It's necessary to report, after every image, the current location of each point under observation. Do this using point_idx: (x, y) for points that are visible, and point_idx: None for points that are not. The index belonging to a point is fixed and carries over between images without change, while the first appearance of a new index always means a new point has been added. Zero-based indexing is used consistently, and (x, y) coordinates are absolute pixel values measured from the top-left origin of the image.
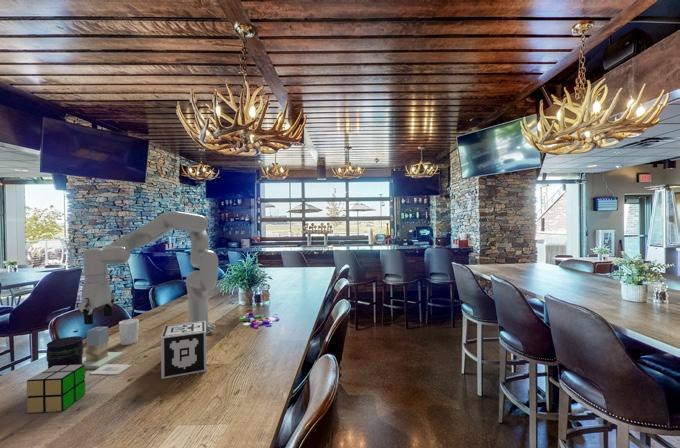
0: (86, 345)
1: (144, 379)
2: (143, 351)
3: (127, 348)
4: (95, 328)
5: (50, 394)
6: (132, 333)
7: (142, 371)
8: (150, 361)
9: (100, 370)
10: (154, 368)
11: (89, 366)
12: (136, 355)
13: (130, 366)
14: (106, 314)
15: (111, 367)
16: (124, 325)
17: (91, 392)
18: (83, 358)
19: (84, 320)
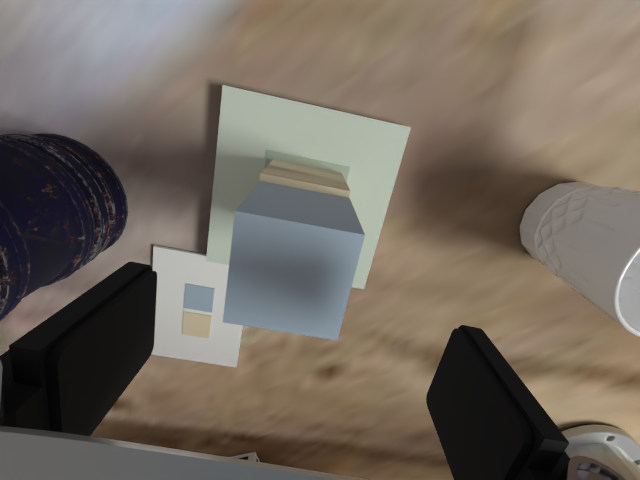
0: (265, 174)
1: (122, 440)
2: (391, 343)
3: (456, 256)
4: (300, 256)
5: None
6: (563, 279)
7: (182, 414)
8: (271, 406)
9: (184, 275)
10: (206, 438)
11: (211, 213)
12: (346, 335)
13: (223, 364)
14: (451, 372)
15: (210, 305)
16: (608, 271)
17: (14, 336)
18: (313, 120)
19: (100, 286)
